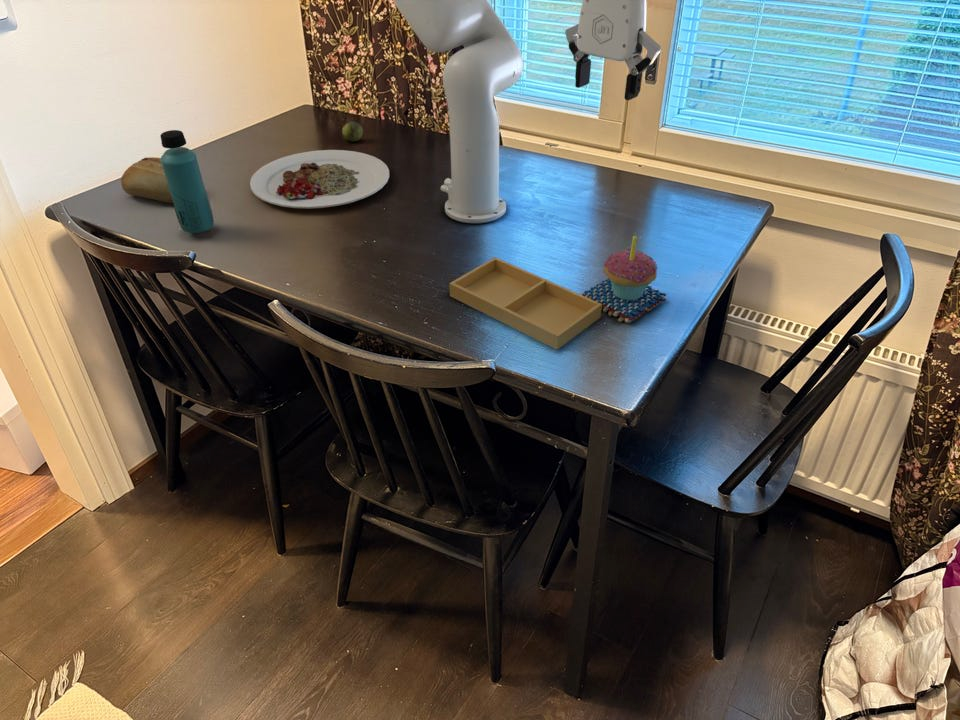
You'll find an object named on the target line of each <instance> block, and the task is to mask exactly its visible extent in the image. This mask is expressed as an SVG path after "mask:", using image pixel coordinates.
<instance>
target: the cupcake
mask: <svg viewBox="0 0 960 720" xmlns="http://www.w3.org/2000/svg"><path fill="white" fill-rule="evenodd" d="M637 240H638V236H637V232H634V235H633V236H632V240H631V246H630V247H631V248H628V249H622V250H619V251H617V252H615V253H611V255H609V256H608V257H607V258H606V260H605V261H604V264H603V272H604V274H605V276H606V277H607V279H608V278H609V279H610V280H611V283H612V287H613V292H614V294H615V295H616V296H617V297H619V298H621V299H624V300H635V299H638V298H640V297H641V296H642V294H643V292H644V291H645V289H646V287H647V286H650V284H652V283H653V282H654V281H655V280H656V279H657V275H658V270H659V269H658V264H656V263H657V262H656V261H654V259H653V257H651V256H650V255H648V254H647V253H644V252H642V251H640V250H637V249H636V248H637ZM609 279H608V280H609Z"/></svg>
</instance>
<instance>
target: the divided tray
mask: <svg viewBox="0 0 960 720" xmlns="http://www.w3.org/2000/svg"><path fill="white" fill-rule="evenodd" d="M449 297H450V298H452V299H454V300H457V301H459V302H460V303H463V304H465V305H467V306H469V307H471V308H473V309H474V310H477V311H478V312H480V313H483V314H484V315H486V316H489V317H491V318H492V319H494V320H497V321H499V322H500V323H503V324H505V325H506V326H509V327H510V328H512V329H515V330H517V331H519V332H521V333H522V334H524V335H526V336H528V337H530V338H532V339H535V340H537V341H538V342H540V343H543V344H545V345H546V346H548V347H551V348H552V349H554V350H556V351H557V350H559V349H560V348H562V347H563V346H564V345H566V344H567V343H569V342H570V341H571V340H572V339H573V338H575V337H576V336H578V335H579V334H580V333H582V332H583V331H584V330H586V329H587V328H588V327H589V326H591V325H593V324H594V323H595V322H597V321H598V320H599V319H600V318H602V317H601V316H602V310H603V309H602V304H601V303H598V302H596V301H594V300H591V299H589V298H587V297H585V296H582V294H580V293H578V292H575V291H573V290H571V289H569V288H566V287H564V286H562V285H559V284H557V283H555V282H553V281H551V280H549V279H546V278H544V277H542V276H539V275H537V274H535V273H532V272H531V271H528V270H526V269H524V268H521V267H519V266H517V265H515V264H512V263H510V262H508V261H505V260H503V259H501V258H498V257H496V256H494V257H492V258H491V259H489V260H487V261H486V262H484V263H482V264H481V265H479V266H477V267H475V268H474V269H472V270H470V271H468V272H466V273H464V274H463V275H461V276H460V277H458V278H456V279H454V280H452V281H451V282H449Z"/></svg>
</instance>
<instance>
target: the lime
mask: <svg viewBox="0 0 960 720" xmlns="http://www.w3.org/2000/svg"><path fill="white" fill-rule="evenodd" d="M363 133H364V129H363V127H362V125H361V124H360V123H358V122H355V121H349V122H347V123H345V125H344V126H343V127H342V130H341V134H342V137H343V138H344V139H345V140H346V141H348V142H350V143H355V142H358V141H359V140H361V139H362V137H363Z"/></svg>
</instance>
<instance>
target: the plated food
mask: <svg viewBox="0 0 960 720" xmlns="http://www.w3.org/2000/svg"><path fill="white" fill-rule="evenodd" d="M389 179H390V169H389V167H388V165H387V164H386V163H385V162H384V161H382V160H381V159H379V158H377V157H376V156H373V155H371V154H367V153H364V152H359V151H354V150H346V149H345V150H344V149H324V150H323V149H321V150H320V149H318V150H310V151H303V152H298V153H293V154H291V155H287V156H283V157H280V158H277V159H275V160H273V161H272V160H271V161H270V162H269V163H266V164H264V165H262V166H261V167H260V168H259V169H257V170H256V171H255V172H254V173H253V175H252V176H251V178H250V181H249V185H250V191H251V192H252V194H253V195H254V196H256V197H257V198H258V199H260V200H261V201H263V202H266V203H268V204H270V205H275V206H279V207H284V208H292V209H324V208H325V209H326V208H331V207H338V206H343V205H347V204H351V203H354V202H358V201H361V200H364V199H365V198H368V197H370V196H372V195H374V194H376V193H377V192H379V191H380V190H382V189H383V187H384V186H385V185H386V184H387V183H388V182H389Z"/></svg>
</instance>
